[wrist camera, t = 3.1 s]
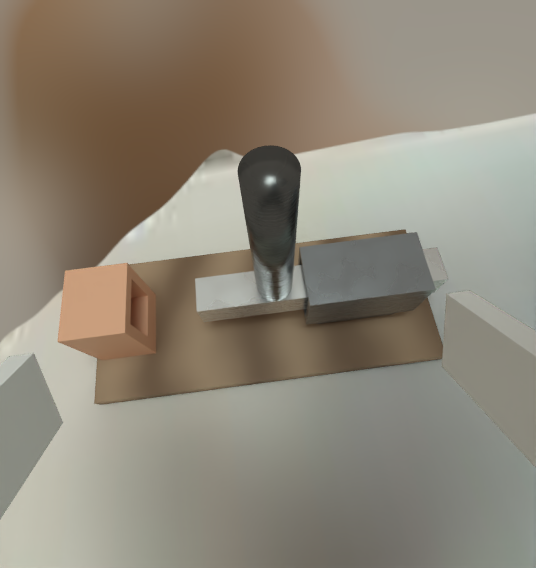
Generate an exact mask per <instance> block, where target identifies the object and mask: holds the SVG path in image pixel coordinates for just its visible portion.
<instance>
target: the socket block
mask: <svg viewBox="0 0 536 568" xmlns="http://www.w3.org/2000/svg"><path fill="white" fill-rule="evenodd" d="M58 342H59V343H62V344H64V345H67V346H69V347H71V348H74V349H76V350H79V351H81V352H84V353H86V354H88V355H91V356H93V357H96V358H98V359H100V360H108V359H116V358H123V357H131V356H139V355H146V354H154V353H156V294H155V293H154V292H153V291H152V290H151V289H150V288H149V287H148V286H147V284H146V283H145V282H144V281H143V280H142V279H141V278H140V277H139V276H138V274H137V273H136V272H135V271H134V270H133V269H132V268H131V267H130V266H129V264H128V263H123V264H115V265H107V266H99V267H92V268H84V269H76V270H68V271H65V278H64V286H63V296H62V305H61V314H60V324H59V333H58Z"/></svg>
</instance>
